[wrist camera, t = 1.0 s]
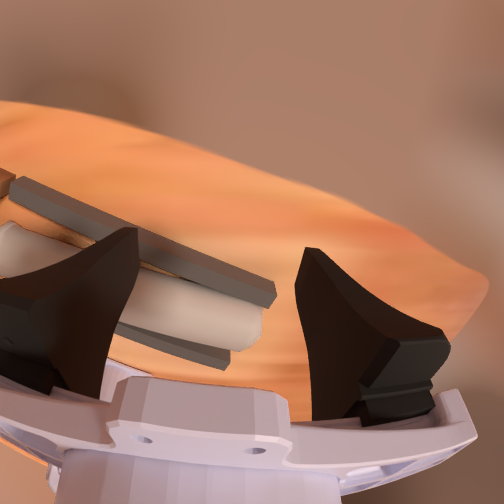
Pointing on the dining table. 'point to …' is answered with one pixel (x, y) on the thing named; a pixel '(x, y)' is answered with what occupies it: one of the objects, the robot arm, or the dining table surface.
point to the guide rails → (157, 254)
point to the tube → (148, 295)
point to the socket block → (5, 181)
